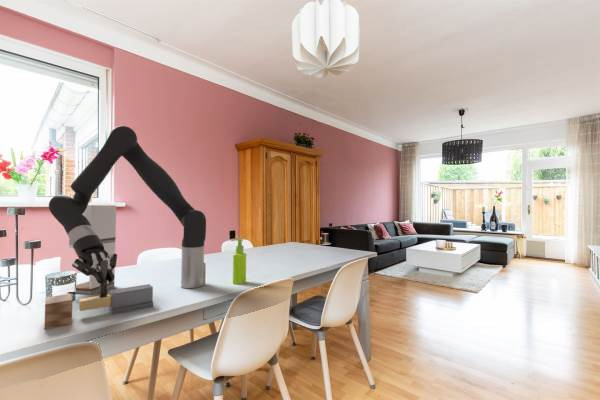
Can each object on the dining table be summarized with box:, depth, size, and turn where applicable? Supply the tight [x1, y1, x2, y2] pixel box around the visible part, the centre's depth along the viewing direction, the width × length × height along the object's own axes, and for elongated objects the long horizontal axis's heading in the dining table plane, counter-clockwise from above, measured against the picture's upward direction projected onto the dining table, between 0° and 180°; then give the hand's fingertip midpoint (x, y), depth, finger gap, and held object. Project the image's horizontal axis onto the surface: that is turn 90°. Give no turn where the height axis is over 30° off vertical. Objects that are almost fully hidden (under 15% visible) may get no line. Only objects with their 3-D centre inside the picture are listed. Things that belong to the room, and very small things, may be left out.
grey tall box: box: [68, 204, 117, 295], centre depth 119 cm, size 11×11×35 cm
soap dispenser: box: [230, 238, 247, 285], centre depth 131 cm, size 6×7×20 cm
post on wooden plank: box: [78, 260, 112, 312], centre depth 94 cm, size 18×3×14 cm, turn 131°
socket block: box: [43, 293, 73, 330], centre depth 85 cm, size 6×8×7 cm
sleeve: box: [108, 283, 154, 316], centre depth 97 cm, size 12×7×6 cm, turn 131°
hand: (107, 281), depth 91 cm, fingers closed on post on wooden plank, 2 cm apart
